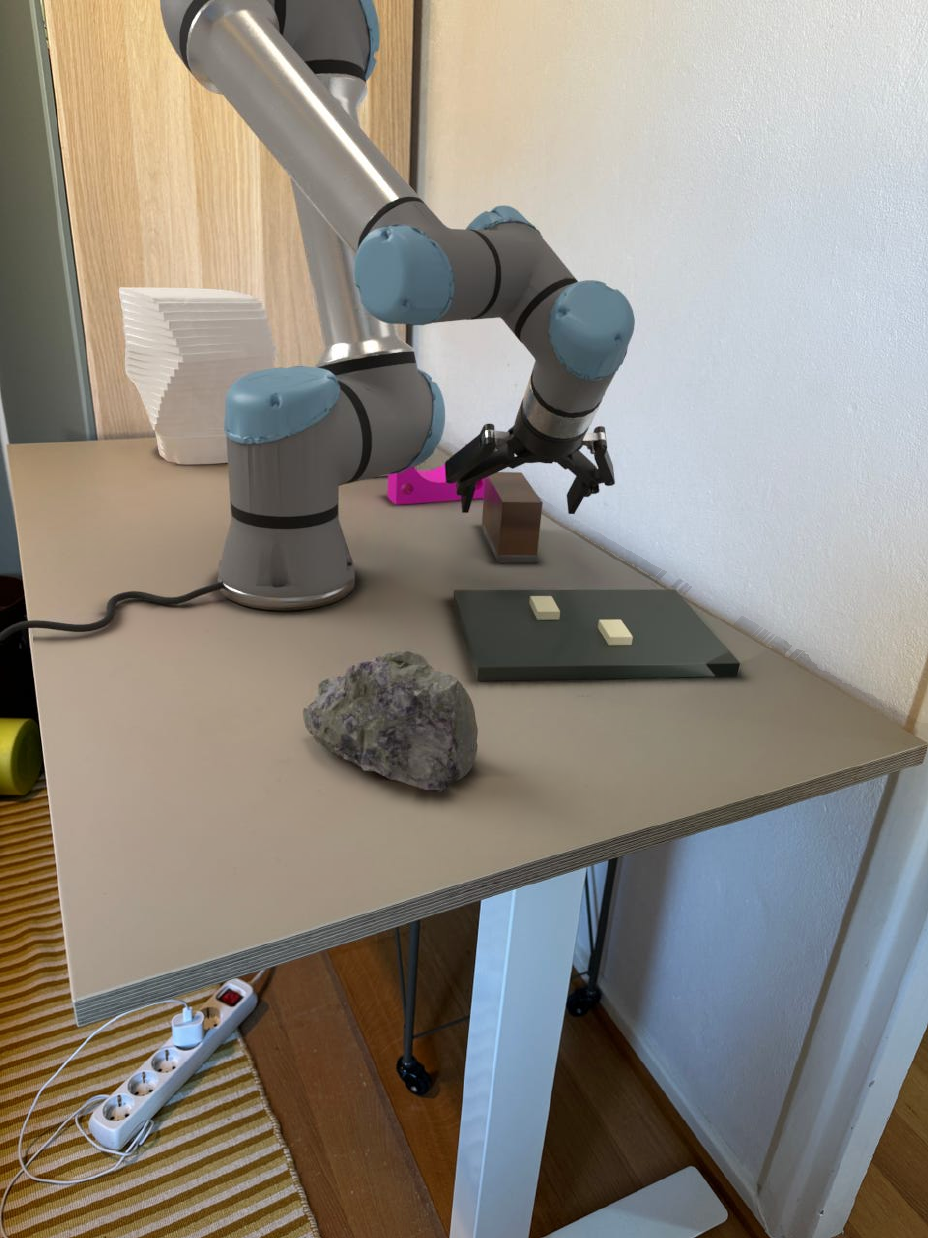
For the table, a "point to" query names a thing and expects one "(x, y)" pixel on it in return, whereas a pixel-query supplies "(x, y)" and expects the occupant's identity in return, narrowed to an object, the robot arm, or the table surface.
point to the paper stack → (192, 362)
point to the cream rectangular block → (544, 608)
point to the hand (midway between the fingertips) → (517, 503)
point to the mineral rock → (397, 720)
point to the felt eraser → (511, 517)
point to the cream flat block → (615, 632)
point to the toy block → (425, 487)
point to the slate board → (588, 636)
